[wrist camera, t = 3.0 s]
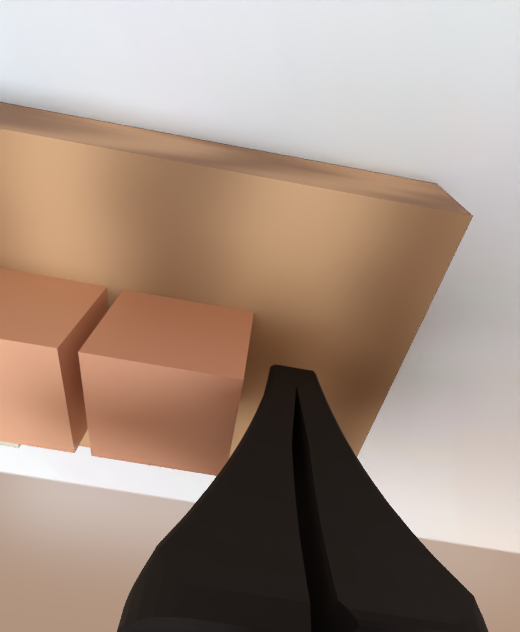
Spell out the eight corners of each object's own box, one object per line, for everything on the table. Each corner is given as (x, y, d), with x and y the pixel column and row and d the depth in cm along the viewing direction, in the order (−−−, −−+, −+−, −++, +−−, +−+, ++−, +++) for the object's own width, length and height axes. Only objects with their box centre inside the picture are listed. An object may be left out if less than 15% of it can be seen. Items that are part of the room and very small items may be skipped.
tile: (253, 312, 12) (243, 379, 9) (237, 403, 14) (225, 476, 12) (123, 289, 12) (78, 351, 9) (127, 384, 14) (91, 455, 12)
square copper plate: (436, 183, 12) (473, 215, 10) (335, 431, 19) (341, 487, 17) (-9, 100, 12) (-89, 111, 9) (47, 383, 19) (9, 434, 16)
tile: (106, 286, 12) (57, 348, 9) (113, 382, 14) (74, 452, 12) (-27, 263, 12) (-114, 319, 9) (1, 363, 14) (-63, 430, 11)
